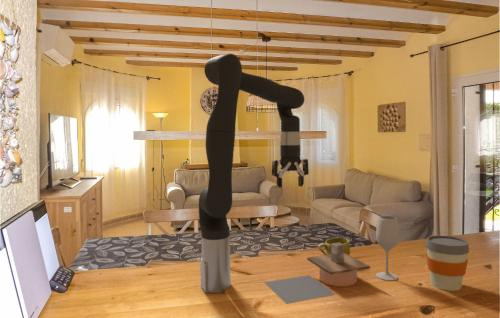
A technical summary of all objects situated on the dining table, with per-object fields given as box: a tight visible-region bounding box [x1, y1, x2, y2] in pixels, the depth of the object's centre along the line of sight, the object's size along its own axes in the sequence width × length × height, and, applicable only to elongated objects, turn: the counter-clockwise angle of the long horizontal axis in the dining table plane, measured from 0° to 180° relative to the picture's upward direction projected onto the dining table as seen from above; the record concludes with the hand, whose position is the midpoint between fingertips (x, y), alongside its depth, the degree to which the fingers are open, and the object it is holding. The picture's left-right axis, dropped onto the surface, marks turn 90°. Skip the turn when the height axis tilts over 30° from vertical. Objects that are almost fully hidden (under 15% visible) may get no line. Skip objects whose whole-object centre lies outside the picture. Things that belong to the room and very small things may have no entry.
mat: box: [263, 274, 337, 305], centre depth 122 cm, size 17×17×1 cm
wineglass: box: [375, 215, 400, 282], centre depth 132 cm, size 8×8×21 cm
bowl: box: [319, 268, 358, 287], centre depth 129 cm, size 12×12×6 cm
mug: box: [317, 236, 351, 256], centre depth 150 cm, size 12×10×10 cm
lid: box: [306, 243, 371, 275], centre depth 129 cm, size 15×15×7 cm
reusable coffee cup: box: [425, 234, 470, 292], centre depth 125 cm, size 13×13×15 cm
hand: (290, 186), depth 143 cm, fingers open, 8 cm apart
